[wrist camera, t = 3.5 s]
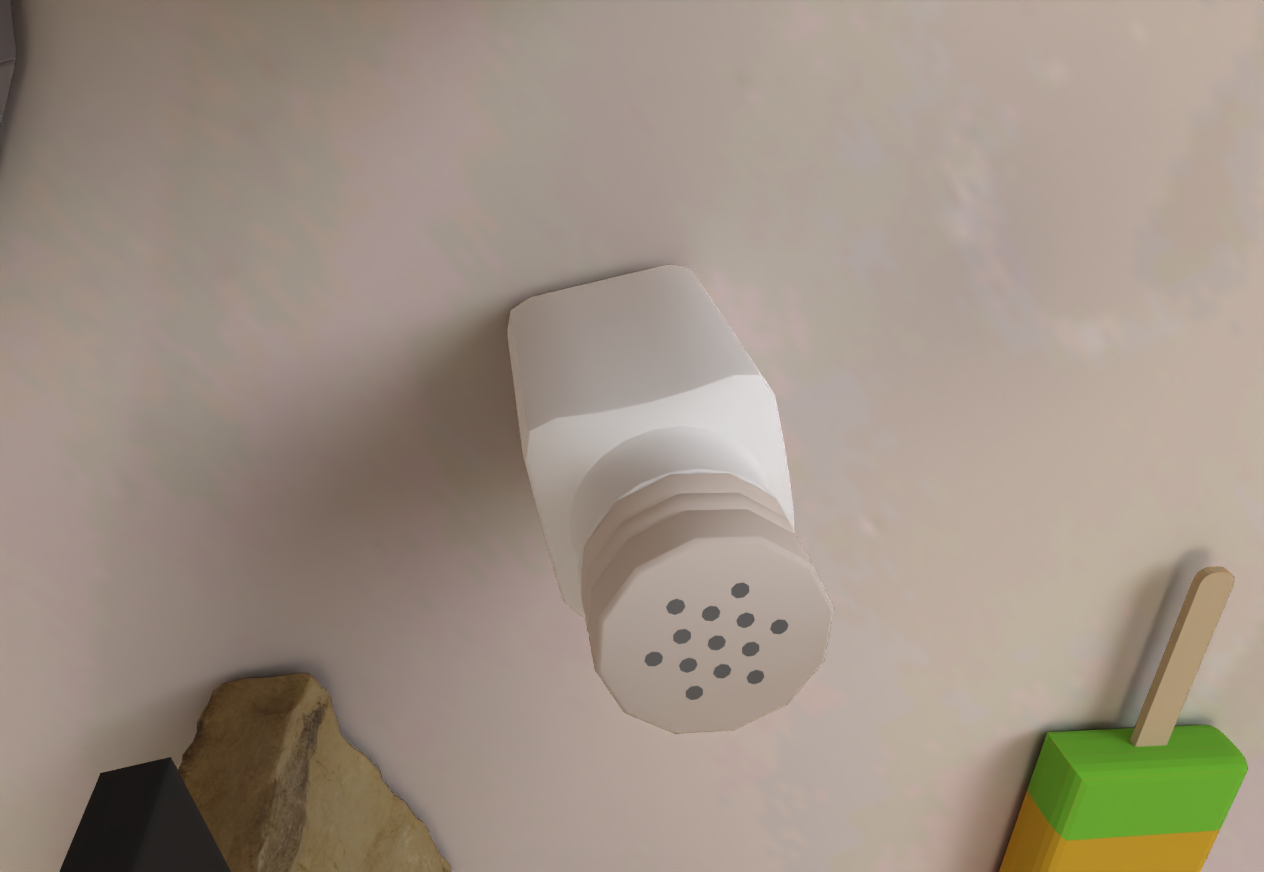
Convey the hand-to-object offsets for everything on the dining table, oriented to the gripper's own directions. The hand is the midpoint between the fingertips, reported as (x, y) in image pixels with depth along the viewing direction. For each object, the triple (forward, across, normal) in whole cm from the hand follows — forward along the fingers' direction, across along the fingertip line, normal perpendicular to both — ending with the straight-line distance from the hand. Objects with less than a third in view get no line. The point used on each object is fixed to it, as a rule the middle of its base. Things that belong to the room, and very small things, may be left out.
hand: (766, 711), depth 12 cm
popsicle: (+11, +12, -16) cm, 23 cm away
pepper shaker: (+11, 0, 0) cm, 11 cm away
